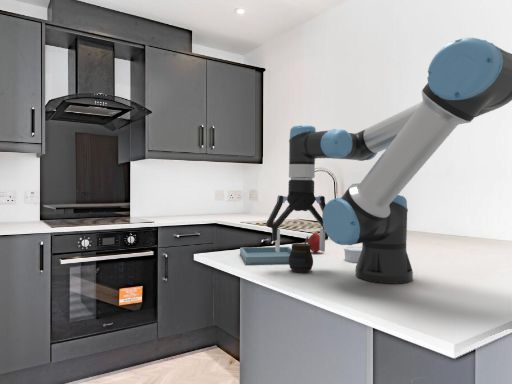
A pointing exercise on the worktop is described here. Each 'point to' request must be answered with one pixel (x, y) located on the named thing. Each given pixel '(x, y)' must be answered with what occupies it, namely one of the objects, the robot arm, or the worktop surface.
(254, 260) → the slate tray
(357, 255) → the ramekin
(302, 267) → the mate gourd
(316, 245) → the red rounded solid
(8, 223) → the worktop surface
